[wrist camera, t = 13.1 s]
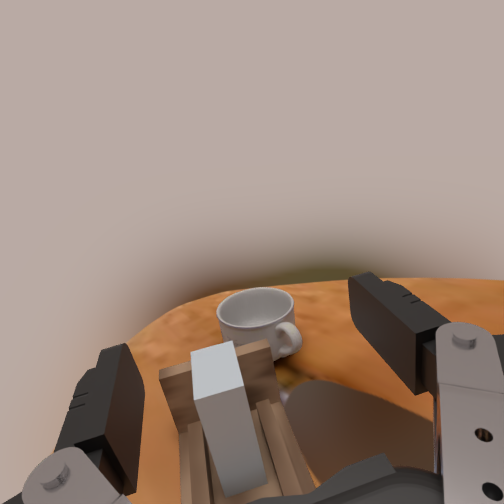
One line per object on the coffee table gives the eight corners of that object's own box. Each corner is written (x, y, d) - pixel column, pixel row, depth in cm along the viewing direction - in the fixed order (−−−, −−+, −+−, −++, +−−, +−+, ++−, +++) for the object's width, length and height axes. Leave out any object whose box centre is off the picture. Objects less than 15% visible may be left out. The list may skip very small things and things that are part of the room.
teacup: (217, 345, 53) (205, 301, 50) (277, 318, 57) (270, 276, 53) (256, 405, 41) (244, 353, 38) (329, 366, 45) (323, 316, 42)
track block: (278, 398, 41) (266, 338, 38) (337, 548, 27) (327, 473, 23) (180, 429, 40) (159, 369, 36) (187, 607, 25) (152, 536, 22)
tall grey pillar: (254, 429, 37) (232, 340, 32) (267, 483, 31) (243, 385, 27) (218, 440, 36) (190, 352, 32) (225, 497, 31) (193, 400, 26)
